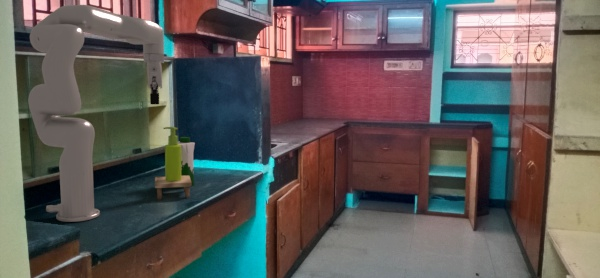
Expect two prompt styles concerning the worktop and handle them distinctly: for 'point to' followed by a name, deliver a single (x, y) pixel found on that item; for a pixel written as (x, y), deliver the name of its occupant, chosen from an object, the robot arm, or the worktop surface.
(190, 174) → the milk carton
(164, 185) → the stool
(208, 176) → the worktop surface
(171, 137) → the soap dispenser
